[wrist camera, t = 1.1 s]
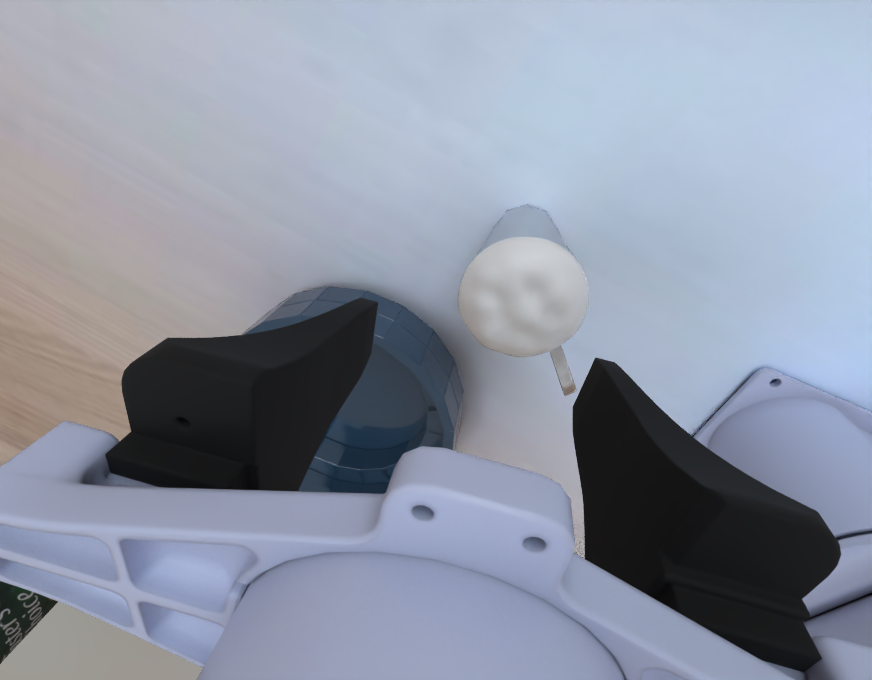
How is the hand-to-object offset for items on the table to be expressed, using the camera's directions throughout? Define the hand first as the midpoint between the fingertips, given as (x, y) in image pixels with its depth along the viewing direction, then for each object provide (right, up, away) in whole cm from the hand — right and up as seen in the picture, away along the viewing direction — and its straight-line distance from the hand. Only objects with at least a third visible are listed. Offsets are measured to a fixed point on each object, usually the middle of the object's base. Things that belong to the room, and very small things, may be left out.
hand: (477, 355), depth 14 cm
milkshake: (+3, +6, +9) cm, 11 cm away
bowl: (-7, -2, +15) cm, 17 cm away
